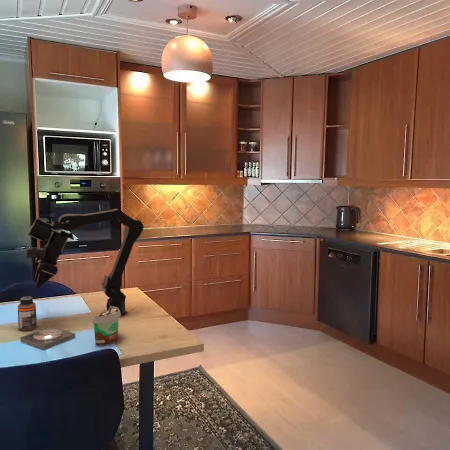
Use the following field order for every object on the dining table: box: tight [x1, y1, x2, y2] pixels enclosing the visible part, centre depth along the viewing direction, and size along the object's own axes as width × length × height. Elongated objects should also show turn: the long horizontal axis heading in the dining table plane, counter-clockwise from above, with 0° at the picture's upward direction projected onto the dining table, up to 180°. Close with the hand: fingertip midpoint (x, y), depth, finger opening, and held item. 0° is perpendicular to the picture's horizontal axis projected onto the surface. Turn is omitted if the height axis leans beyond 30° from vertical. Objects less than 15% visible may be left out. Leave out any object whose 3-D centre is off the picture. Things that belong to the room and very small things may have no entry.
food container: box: [92, 306, 122, 346], centre depth 137 cm, size 12×6×10 cm, turn 168°
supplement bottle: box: [17, 296, 38, 332], centre depth 146 cm, size 6×6×11 cm
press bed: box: [20, 326, 76, 351], centre depth 137 cm, size 12×12×2 cm
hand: (36, 285), depth 149 cm, fingers open, 9 cm apart
